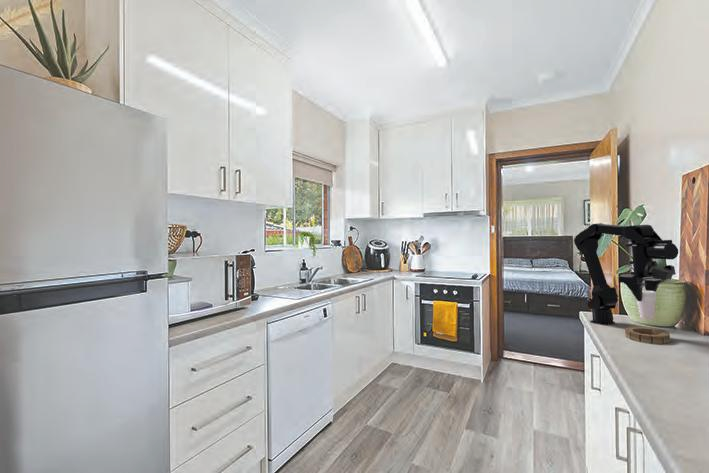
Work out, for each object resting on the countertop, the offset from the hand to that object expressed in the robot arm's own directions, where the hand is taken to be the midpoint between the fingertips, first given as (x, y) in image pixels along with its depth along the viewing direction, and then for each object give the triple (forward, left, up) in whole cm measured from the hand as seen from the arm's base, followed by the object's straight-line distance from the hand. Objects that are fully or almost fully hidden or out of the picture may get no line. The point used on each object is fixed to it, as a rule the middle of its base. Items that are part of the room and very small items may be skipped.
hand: (645, 300), depth 123 cm
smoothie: (0, 0, -7) cm, 7 cm away
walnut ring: (+2, -3, -13) cm, 14 cm away
